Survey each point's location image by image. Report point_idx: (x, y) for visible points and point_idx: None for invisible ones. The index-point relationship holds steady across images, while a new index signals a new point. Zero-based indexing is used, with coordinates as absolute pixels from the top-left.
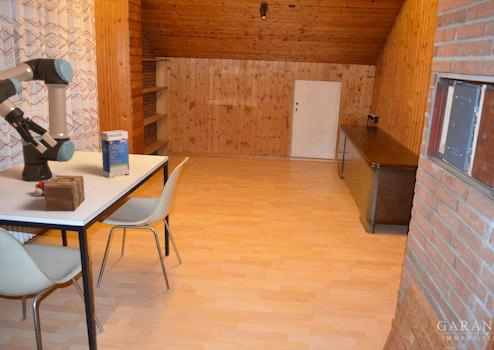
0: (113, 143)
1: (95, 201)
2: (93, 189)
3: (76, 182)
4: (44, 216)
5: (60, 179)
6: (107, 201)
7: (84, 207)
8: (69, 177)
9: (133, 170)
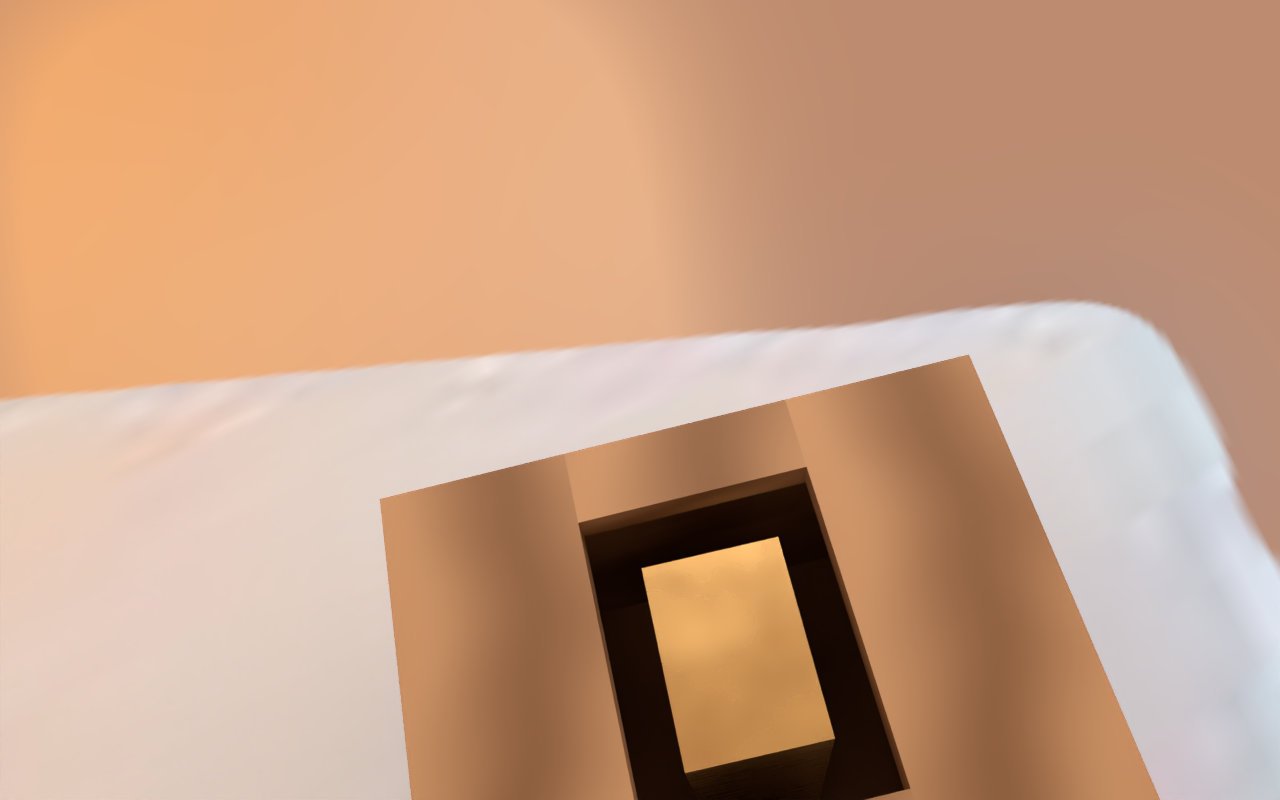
0: None
1: None
2: (9, 758)
3: (765, 410)
4: (1227, 761)
5: (694, 753)
6: (488, 362)
7: None
8: (544, 654)
9: None
